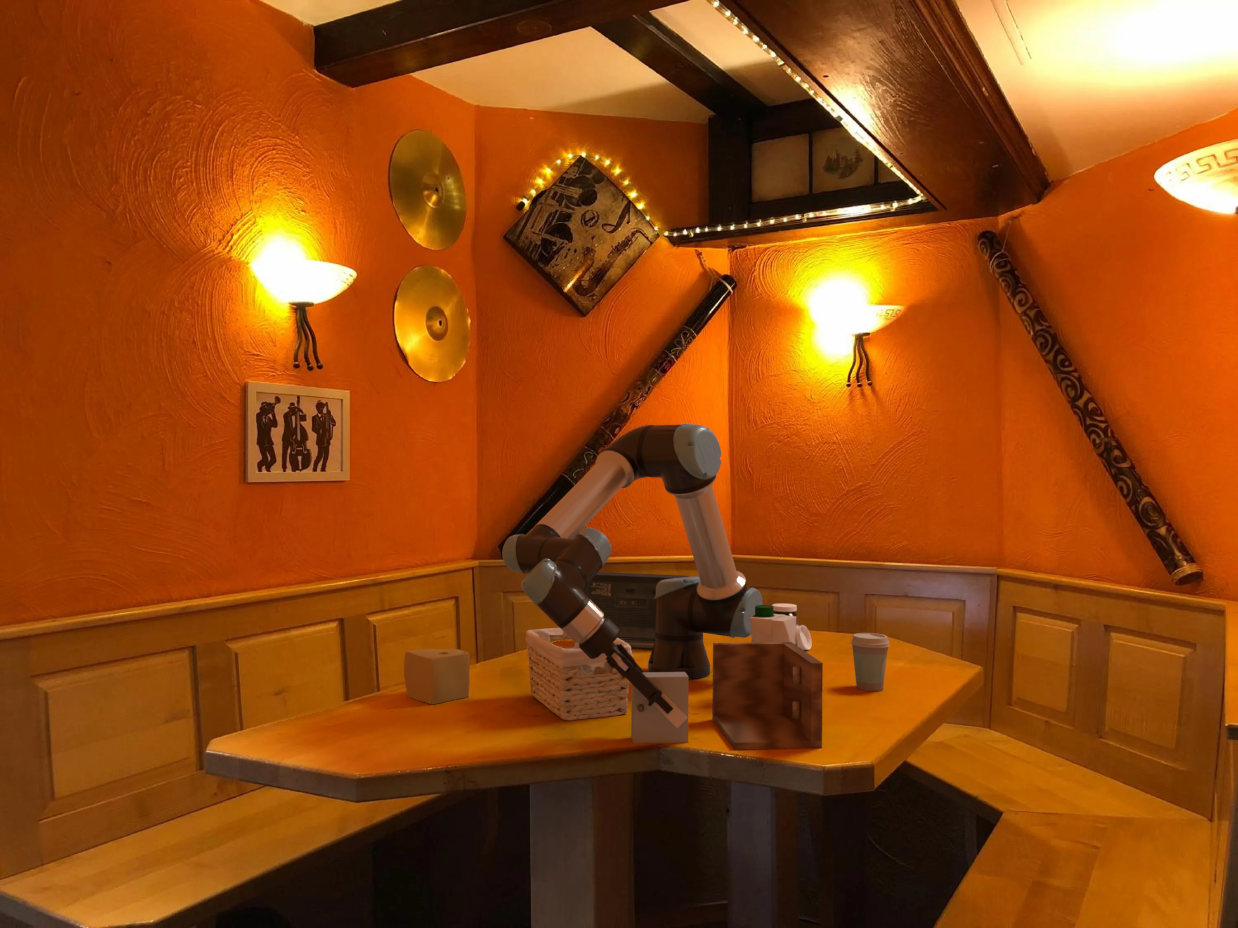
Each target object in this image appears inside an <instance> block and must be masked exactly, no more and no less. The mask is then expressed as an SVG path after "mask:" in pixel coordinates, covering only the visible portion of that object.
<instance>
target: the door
mask: <svg viewBox="0 0 1238 928" xmlns="http://www.w3.org/2000/svg"><path fill="white" fill-rule="evenodd" d="M643 674H644V675H645V676H646V677H647V678H648V679H649V680H650V681H651V682H652V683H653V684H654V685H655V686H656V687H657V688H658V690H660V691H661V692H663V693H664V694H665V695H666V696H667V697H668V698H669V699H670V700H671V701H672V702H673V703H674V704H675V705H676V706H677V707H678V708H679V709H680V710H681V711H682V712H683V713H684V714H685V715H686V716H687V717H688V718H687V719H686V720H685V721H684V722H683V723H682V724H681V725H680V726H679V727H678V728H676V727H675V726H674V725H673V724H672V723H671V722H670V721H669V720H668V719H667V718H666V717H665V716H664V715H663V714H662V713H661V712H660V711H659V710H658V709H657V708H656V707H655V706H654V705H653V704H652V705H651V706H649V705H648V703H649V701H648V699H647V698H646V697H645V696H644V695H643V694H642V693H641V692H640V691H639V690H638V689H637V688H636V687H635V686H634V685H633V684H632V683H631V702H630V703H631V705H630V706H631V710H630V711H631V718H630V721H631V722H630V723H631V725H630V726H631V727H630V732H631V733H630V737H631V741H632V743H633V744H670V743H672V744H674V743H675V744H676V743H677V744H678V743H682V744H683V743H689V692H690V691H689V684H690V683H689V680H690V679H689V677H688V675H687V674H686V673H685V672H648V671H645V672H643Z"/></svg>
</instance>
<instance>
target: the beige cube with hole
mask: <svg viewBox="0 0 1238 928" xmlns="http://www.w3.org/2000/svg"><path fill="white" fill-rule="evenodd" d="M404 653H405V654H404V659H403V660H404V661H403V674H404V675H403V678H404V684H405V691H406V697H407V698H409V699H413V700H416V701H418V702H423V703H426V704H427V705H428V704H429V705H431V706H433V705H437V704H442V703H446V702H451V701H455V700H456V701H457V700H462V699H466V698H469V697H470V695H469V694H470V652H468V651H464V650H462V649H457V648H445V649H442V648H441V649H439V648H438V649H437V648H424V649H411V650H407V651H405V652H404Z"/></svg>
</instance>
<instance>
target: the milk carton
mask: <svg viewBox="0 0 1238 928" xmlns="http://www.w3.org/2000/svg"><path fill="white" fill-rule="evenodd" d="M750 626H751V643H762V642H792V643H794V644H795V635H796V616H786V615H783V614H774V607H773V606H772V605H770V604H769V605H767V604H762V605H757V606H755V615H754V616H752V617H750Z"/></svg>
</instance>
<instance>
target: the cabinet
mask: <svg viewBox="0 0 1238 928" xmlns="http://www.w3.org/2000/svg"><path fill="white" fill-rule="evenodd" d="M823 664H824V663H823V662H821V661H820V660H819V659H817V658H816V657H814V656H813V655H811V654H810V653H809V652H807V651H806V650H805V651H804V650H802V649H801V648H800V646H799V645H798V646H796V645H795V644H794V643H792V642H762V643H752V642H713V643H712V703H711V704H712V706H711V707H712V714H711V716H712V721H713V722H714V724H715V725H716V727H718V729H719V730H720V732H721V733H722V735H723V736H724V737H725V739H726V740H727V742H728V743H729V744H730V746H731V747H732V749H734V751H735V750H737V751H738V750H769V749H770V750H772V749H773V750H775V749H777V750H779V749H819V748H820V749H821V748H822V749H823V681H824V680H823V677H824V676H823V672H824V671H823Z"/></svg>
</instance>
